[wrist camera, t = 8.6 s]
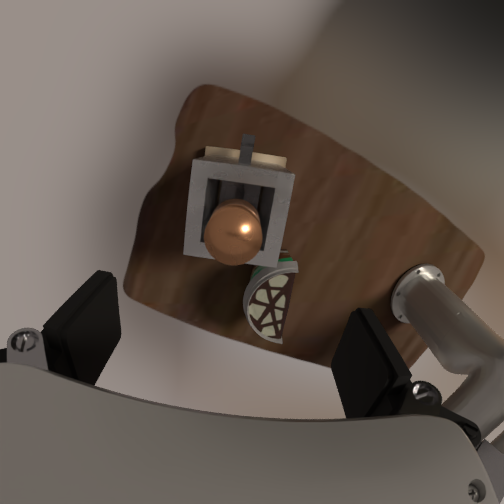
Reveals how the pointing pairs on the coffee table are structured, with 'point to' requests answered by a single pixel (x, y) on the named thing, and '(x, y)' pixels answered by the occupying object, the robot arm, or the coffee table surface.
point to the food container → (270, 297)
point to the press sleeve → (244, 171)
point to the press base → (255, 156)
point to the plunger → (235, 224)
